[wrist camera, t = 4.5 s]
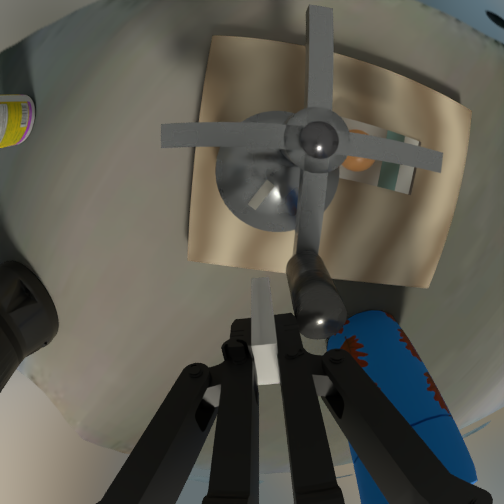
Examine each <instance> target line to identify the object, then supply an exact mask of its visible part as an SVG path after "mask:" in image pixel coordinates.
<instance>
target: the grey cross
mask: <svg viewBox="0 0 504 504" xmlns="http://www.w3.org/2000/svg"><path fill="white" fill-rule="evenodd" d="M333 60H334V45H333V8H328V7H322V6H316V5H309V6H308V8H307V11H306V58H305V92H304V109H302V110H300V111H299V112H297V113H291V112H287V111H268V112H262V113H259V114H256V115H253V116H251V117H249V118H247V119H245V120H244V121H242V122H194V123H173V124H161V148H173V147H220V149H219V152H218V155H217V160H216V167H215V175H216V183H217V187H218V190H219V193H220V196H221V198H222V199H223V201H224V203H225V205H226V206H227V207H228V209H229V210H230V211H231V212H232V213H233V214H234V215H235V216H236V217H237V218H238V219H240V220H241V221H243V222H244V223H246V224H247V225H250V226H252V227H254V228H257V229H260V230H263V231H269V232H286V231H292V230H295V236H294V246H293V255H292V257H291V258H290V260H289V261H288V263H287V266H286V275H287V280H288V284H289V289H290V294H291V299H292V304H293V309H294V314H295V317H296V319H297V324H298V328H299V332H300V333H301V334H302V335H304V336H305V337H307V338H310V339H324V338H328V337H330V336H332V335H334V334H336V333H337V332H338V331H339V330H340V329H341V328H342V327H343V326H344V324H345V322H346V319H347V310H346V308H345V306H344V303H343V301H342V299H341V297H340V295H339V293H338V291H337V289H336V287H335V284H334V282H333V280H332V278H331V276H330V274H329V272H328V270H327V268H326V266H325V264H324V262H323V260H322V258H321V257H320V256H319V255H318V253H319V245H320V238H321V230H322V222H323V214H324V211H325V210H326V209H327V207H328V206H329V205H330V203H331V201H332V200H333V198H334V195H335V193H336V190H337V187H338V183H339V166H340V165H341V164H342V163H343V162H344V161H345V159H346V158H347V156H353V157H360V158H367V159H373V160H379V161H385V162H391V163H396V164H401V165H406V166H411V167H416V168H421V169H425V170H430V171H434V172H438V173H441V168H442V160H443V153H442V152H439V151H435V150H432V149H428V148H424V147H420V146H416V145H412V144H408V143H404V142H400V141H395V140H390V139H386V138H381V137H375V136H370V135H365V134H359V133H353V132H349V129H348V127H347V125H346V123H345V122H344V121H343V119H342V118H341V117H340V116H339V115H338V114H336V113H335V112H333V111H332V102H333Z"/></svg>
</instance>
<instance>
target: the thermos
mask: <svg viewBox="0 0 504 504" xmlns="http://www.w3.org/2000/svg"><path fill="white" fill-rule="evenodd" d="M335 348H337V349H343V350H346V351H347V352H349V353H350V354H351V355H352V357H353V358H354V359H355V360H356V361H357V363H358V364H359V365H360V366H361V367H362V368H363V370H364V371H365V372H366V373H367V374H368V375H369V377H370V378H371V379H372V380H373V381H374V383H375V384H376V385H377V386H378V387H379V388H380V390H381V391H382V392H383V393H384V394H385V396H386V397H387V398H388V399H389V400H390V402H391V403H392V404H393V405H394V406H395V407H396V409H397V410H398V411H399V412H400V413H401V415H402V416H403V417H404V418H405V419H406V421H407V422H408V423H409V424H410V425H411V427H412V428H413V429H414V430H415V431H416V433H417V434H418V435H419V436H420V437H421V439H422V440H423V441H424V442H425V443H426V445H427V446H428V447H429V448H430V449H431V451H432V452H433V453H434V454H435V455H436V457H437V458H438V459H439V460H440V461H441V463H442V464H443V465H444V466H445V468H446V469H447V470H448V471H449V472H450V474H452V475H454V476H456V477H458V478H460V479H462V480H464V481H466V482H468V483H471V484H474V483H475V482H476V481H477V476H476V471H475V467H474V464H473V461H472V459H471V457H470V454H469V452H468V450H467V447H466V445H465V443H464V440H463V438H462V436H461V434H460V432H459V430H458V427H457V425H456V423H455V421H454V420H453V417H452V415H451V413H450V411H449V409H448V407H447V405H446V403H445V401H444V400H443V398H442V396H441V394H440V392H439V390H438V388H437V386H436V385H435V383H434V381H433V379H432V377H431V376H430V374H429V372H428V370H427V369H426V367H425V365H424V363H423V362H422V360H421V358H420V357H419V355H418V353H417V352H416V350H415V348H414V347H413V345H412V343H411V342H410V340H409V338H408V337H407V336H406V334H405V333H404V331H403V330H402V329H401V327H400V326H399V325H398V323H397V322H396V321H395V319H394V318H393V317H392V315H390V314H388V313H386V312H384V311H376V310H369V311H365V312H362V313H358V314H356V315H354V316H352V317H350V318H348V319H347V320H346V322H345V324H344V326H343V327H342V328H341V329H340V330H339V331H338V332H337V333H336V334H334V335H332V336H331V337H330V338H329V340H328V346H327V351H329V350H331V349H335ZM348 442H349V441H348ZM349 446H350V451H351V455H352V460H353V464H354V469H355V474H356V478H357V484H358V489H359V494H360V499H361V504H389V503H388V501H387V500H386V498H385V497H384V495H383V494H382V492H381V491H380V489H379V488H378V486H377V484H376V483H375V481H374V480H373V478H372V477H371V475H370V474H369V472H368V471H367V469H366V468H365V466H364V464H363V463H362V461H361V460H360V458H359V457H358V455H357V454H356V452H355V450H354V449H353V447H352V446H351V444H350V443H349Z"/></svg>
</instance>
